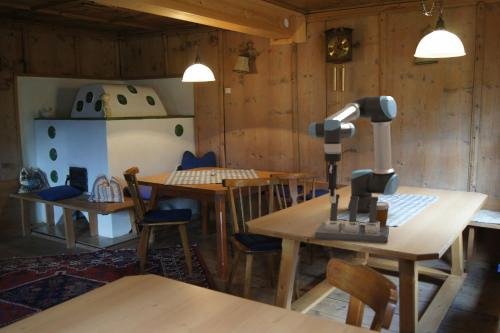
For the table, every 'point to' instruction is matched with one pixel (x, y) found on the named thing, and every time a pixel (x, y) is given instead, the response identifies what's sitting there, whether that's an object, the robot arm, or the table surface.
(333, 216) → the handle
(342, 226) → the breaker panel
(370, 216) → the end handle
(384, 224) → the disposable coffee cup
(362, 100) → the robot arm
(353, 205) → the middle handle
